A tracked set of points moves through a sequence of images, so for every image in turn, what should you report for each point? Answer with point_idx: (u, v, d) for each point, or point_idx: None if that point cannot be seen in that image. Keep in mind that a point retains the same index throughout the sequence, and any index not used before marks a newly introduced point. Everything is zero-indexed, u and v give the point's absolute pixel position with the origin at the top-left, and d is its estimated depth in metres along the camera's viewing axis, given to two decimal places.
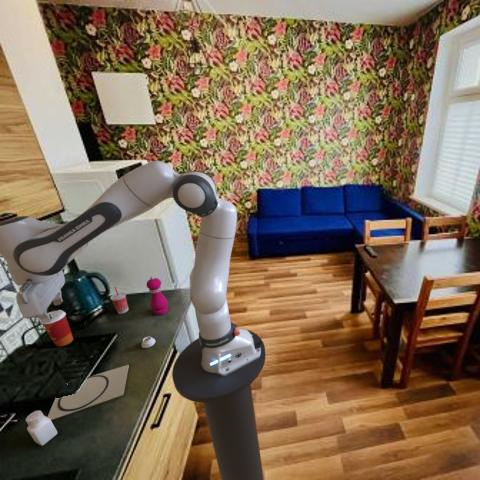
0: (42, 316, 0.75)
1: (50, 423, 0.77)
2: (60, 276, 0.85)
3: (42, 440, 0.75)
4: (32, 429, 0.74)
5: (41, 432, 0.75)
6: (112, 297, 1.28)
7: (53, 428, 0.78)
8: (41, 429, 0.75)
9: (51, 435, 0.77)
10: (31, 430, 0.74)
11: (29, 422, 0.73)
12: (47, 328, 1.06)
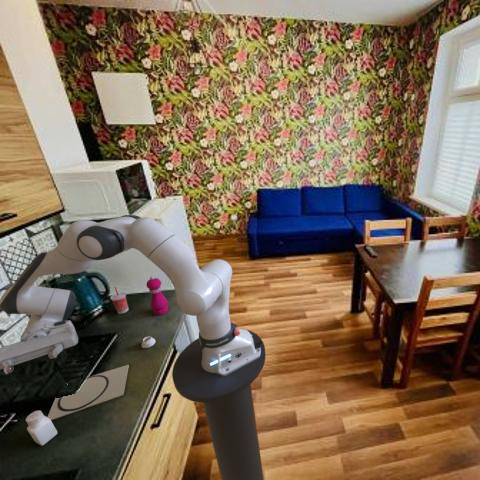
0: (4, 367, 0.79)
1: (50, 423, 0.77)
2: (66, 333, 0.89)
3: (42, 440, 0.75)
4: (32, 429, 0.74)
5: (41, 432, 0.75)
6: (112, 297, 1.28)
7: (53, 428, 0.78)
8: (41, 429, 0.75)
9: (51, 435, 0.77)
10: (31, 430, 0.74)
11: (29, 422, 0.73)
12: None
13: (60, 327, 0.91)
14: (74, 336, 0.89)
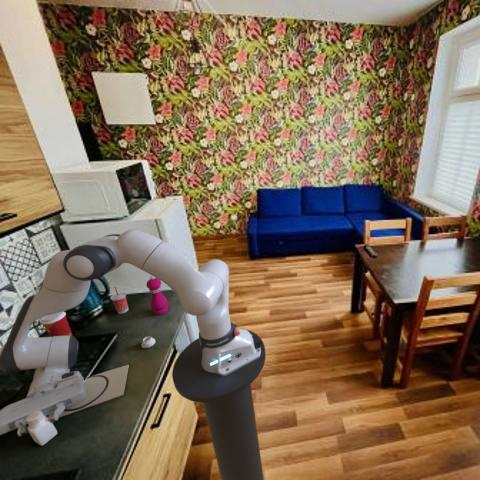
0: (17, 428, 0.74)
1: (50, 423, 0.77)
2: (74, 387, 0.84)
3: (42, 440, 0.75)
4: (32, 429, 0.74)
5: (41, 432, 0.75)
6: (112, 297, 1.28)
7: (53, 428, 0.77)
8: (41, 429, 0.75)
9: (51, 435, 0.77)
10: (31, 430, 0.74)
11: (29, 422, 0.73)
12: (47, 328, 1.06)
13: (68, 379, 0.86)
14: (83, 390, 0.84)
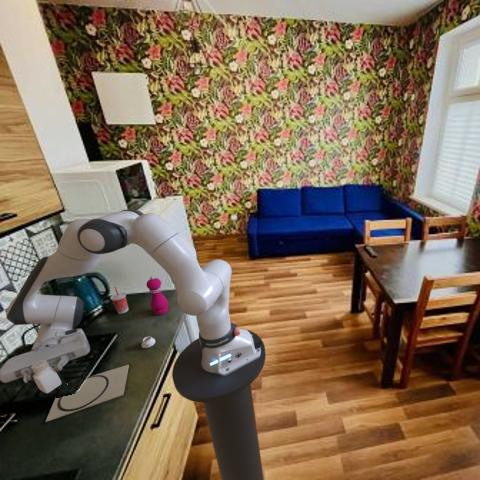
0: (23, 376, 0.78)
1: (54, 372, 0.80)
2: (77, 342, 0.88)
3: (47, 388, 0.79)
4: (37, 376, 0.77)
5: (46, 380, 0.78)
6: (112, 297, 1.28)
7: (57, 378, 0.81)
8: (46, 377, 0.78)
9: (55, 384, 0.80)
10: (36, 377, 0.77)
11: (35, 369, 0.76)
12: None
13: (72, 335, 0.89)
14: (86, 345, 0.87)
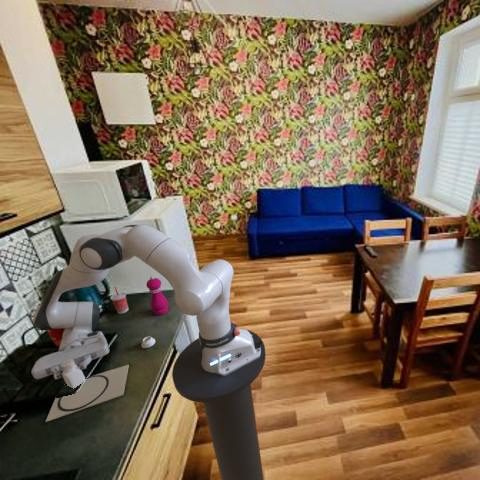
0: (53, 373, 0.88)
1: (80, 370, 0.91)
2: (98, 343, 0.98)
3: (74, 384, 0.89)
4: (65, 373, 0.88)
5: (73, 377, 0.89)
6: (112, 297, 1.28)
7: (82, 375, 0.91)
8: (73, 374, 0.89)
9: (81, 381, 0.91)
10: (65, 374, 0.88)
11: (64, 367, 0.87)
12: None
13: (93, 337, 1.00)
14: (106, 346, 0.98)
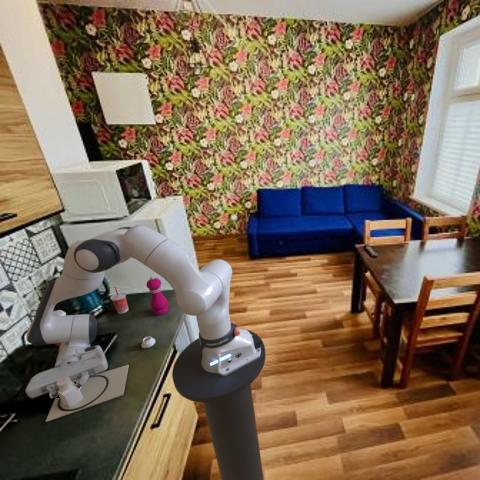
0: (49, 392, 0.84)
1: (77, 388, 0.86)
2: (96, 359, 0.94)
3: (70, 403, 0.85)
4: (62, 392, 0.84)
5: (69, 395, 0.85)
6: (112, 297, 1.28)
7: (79, 393, 0.87)
8: (69, 393, 0.85)
9: (78, 399, 0.87)
10: (61, 393, 0.83)
11: (59, 386, 0.83)
12: None
13: (91, 352, 0.96)
14: (104, 361, 0.94)
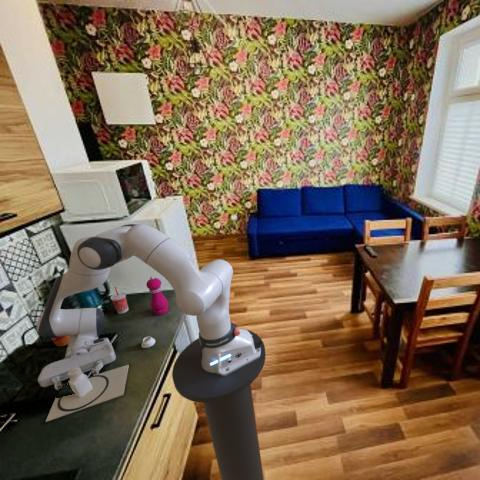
0: (54, 383, 0.87)
1: (87, 378, 0.90)
2: (105, 350, 0.97)
3: (81, 392, 0.88)
4: (72, 382, 0.87)
5: (80, 385, 0.88)
6: (112, 297, 1.28)
7: (89, 383, 0.91)
8: (80, 383, 0.88)
9: (87, 389, 0.90)
10: (72, 383, 0.87)
11: (71, 376, 0.86)
12: None
13: (99, 344, 0.99)
14: (113, 353, 0.97)
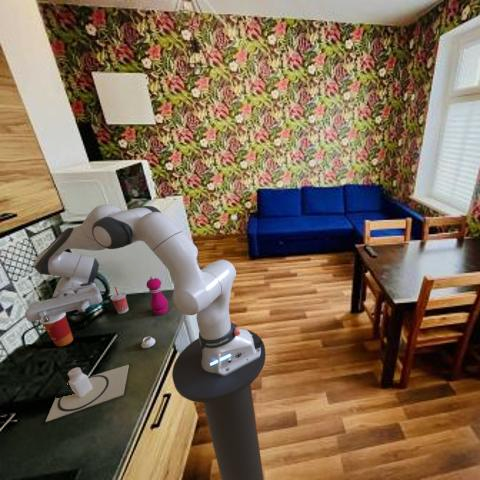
0: (40, 317, 0.90)
1: (87, 378, 0.90)
2: (91, 292, 1.00)
3: (81, 392, 0.88)
4: (72, 382, 0.87)
5: (80, 385, 0.88)
6: (112, 297, 1.28)
7: (89, 383, 0.91)
8: (80, 383, 0.88)
9: (87, 389, 0.90)
10: (72, 383, 0.87)
11: (71, 376, 0.86)
12: (47, 328, 1.06)
13: (86, 287, 1.02)
14: (99, 295, 1.00)
